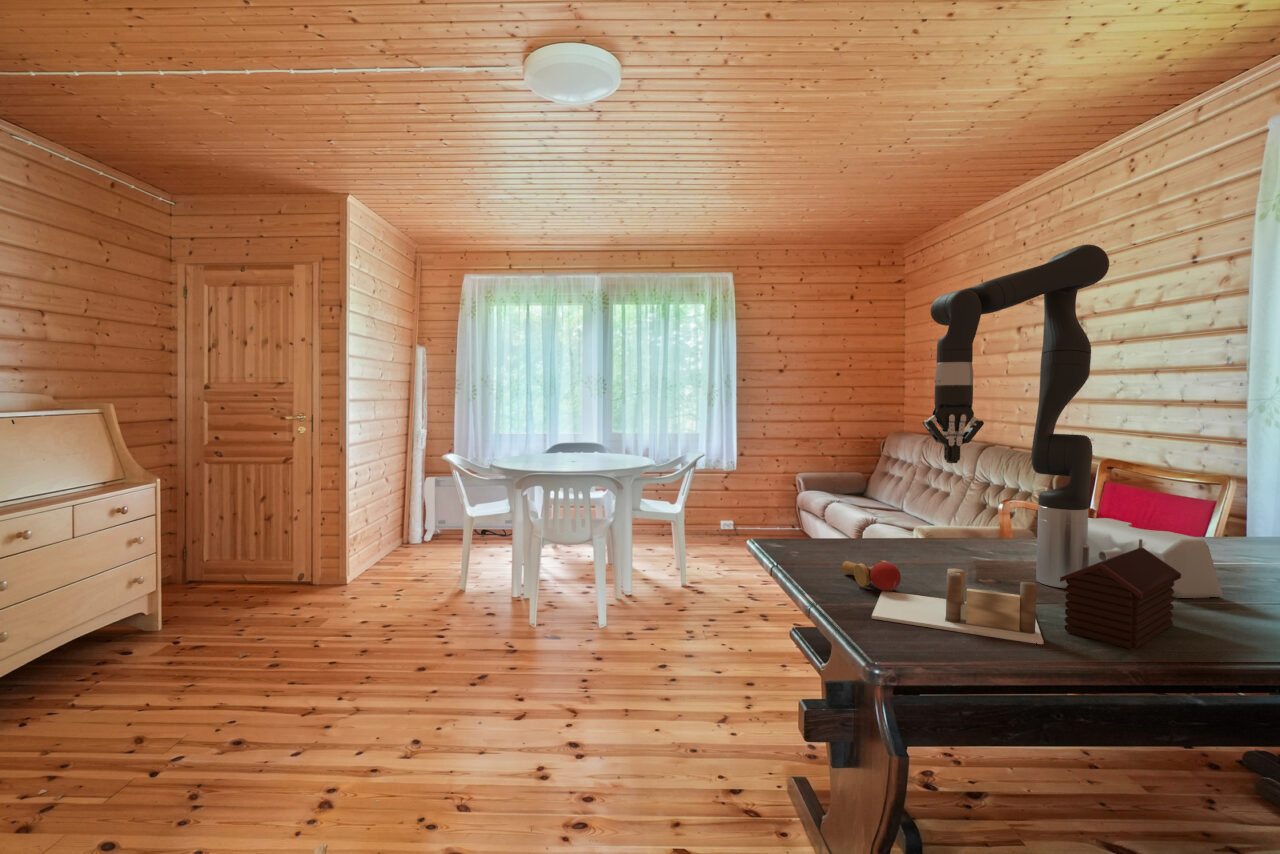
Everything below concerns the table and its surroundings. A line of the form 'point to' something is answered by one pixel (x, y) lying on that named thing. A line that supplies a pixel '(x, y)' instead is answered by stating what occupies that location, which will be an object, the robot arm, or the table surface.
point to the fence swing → (962, 573)
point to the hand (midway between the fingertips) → (952, 462)
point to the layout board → (939, 616)
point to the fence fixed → (993, 606)
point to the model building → (1121, 599)
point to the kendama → (874, 574)
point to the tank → (1158, 554)
